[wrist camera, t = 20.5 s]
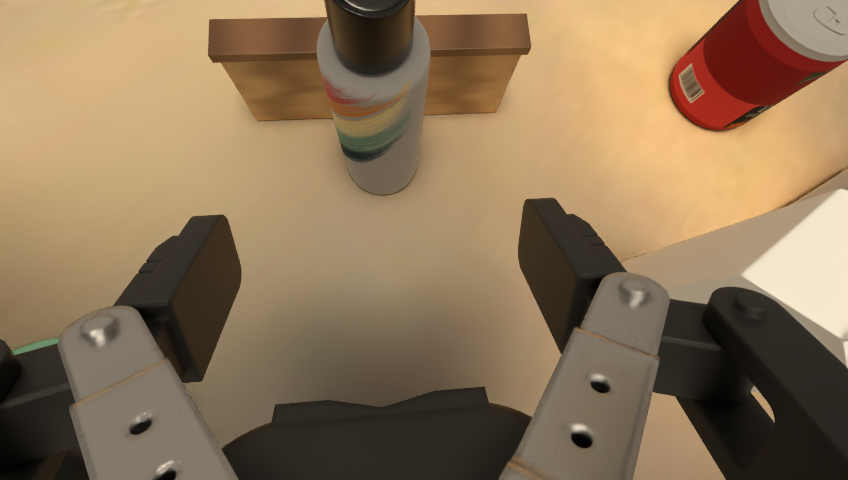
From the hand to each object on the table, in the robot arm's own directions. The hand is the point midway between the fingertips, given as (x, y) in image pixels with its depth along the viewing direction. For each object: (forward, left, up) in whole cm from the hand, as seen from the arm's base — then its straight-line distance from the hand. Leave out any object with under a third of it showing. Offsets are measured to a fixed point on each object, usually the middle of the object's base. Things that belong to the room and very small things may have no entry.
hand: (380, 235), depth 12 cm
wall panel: (-6, +16, -23) cm, 28 cm away
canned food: (+22, +26, -23) cm, 41 cm away
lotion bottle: (-4, +11, -23) cm, 25 cm away
